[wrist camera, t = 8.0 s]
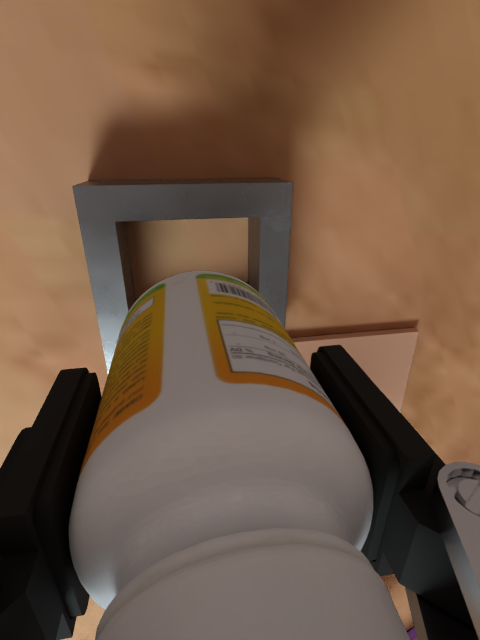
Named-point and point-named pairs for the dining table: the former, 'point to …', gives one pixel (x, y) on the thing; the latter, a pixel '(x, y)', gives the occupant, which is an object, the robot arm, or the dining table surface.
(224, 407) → the supplement bottle
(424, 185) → the dining table surface
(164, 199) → the sleeve
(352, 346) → the pad
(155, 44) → the dining table surface
